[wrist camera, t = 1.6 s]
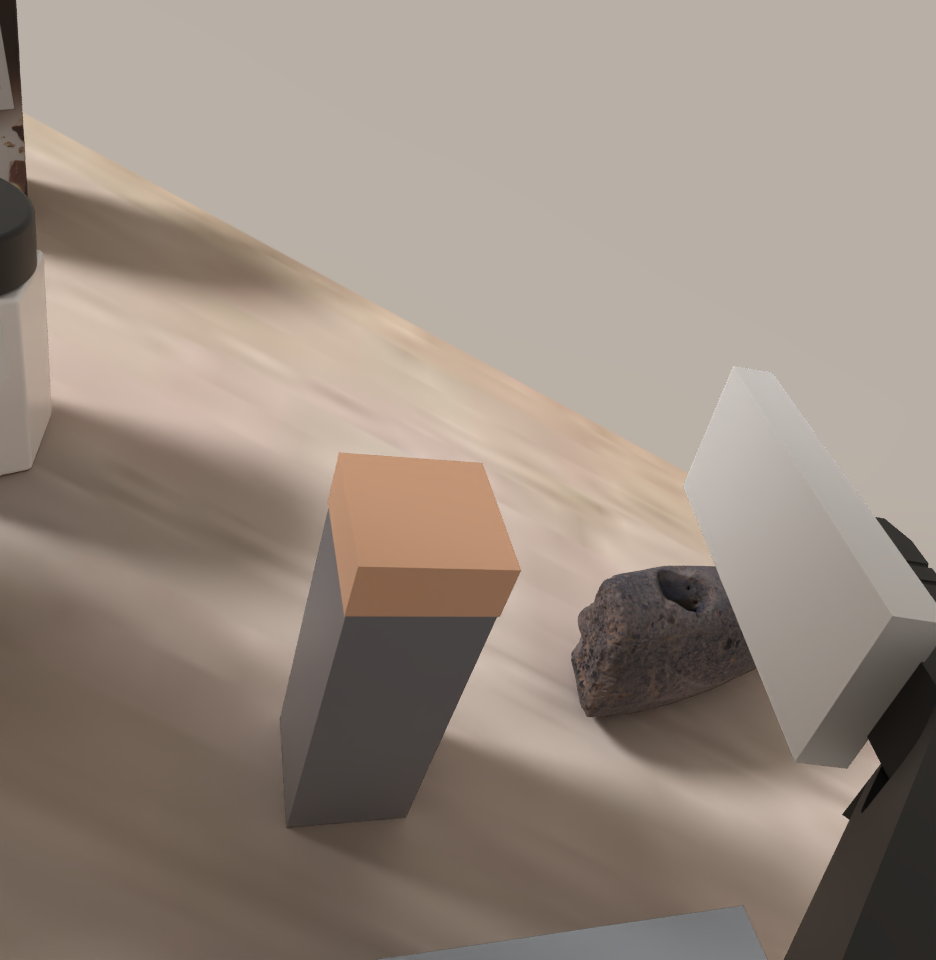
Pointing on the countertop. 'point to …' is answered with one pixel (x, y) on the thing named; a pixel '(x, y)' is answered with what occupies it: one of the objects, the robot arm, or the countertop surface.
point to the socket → (628, 941)
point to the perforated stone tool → (657, 640)
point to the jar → (22, 334)
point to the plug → (389, 632)
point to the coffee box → (11, 100)
